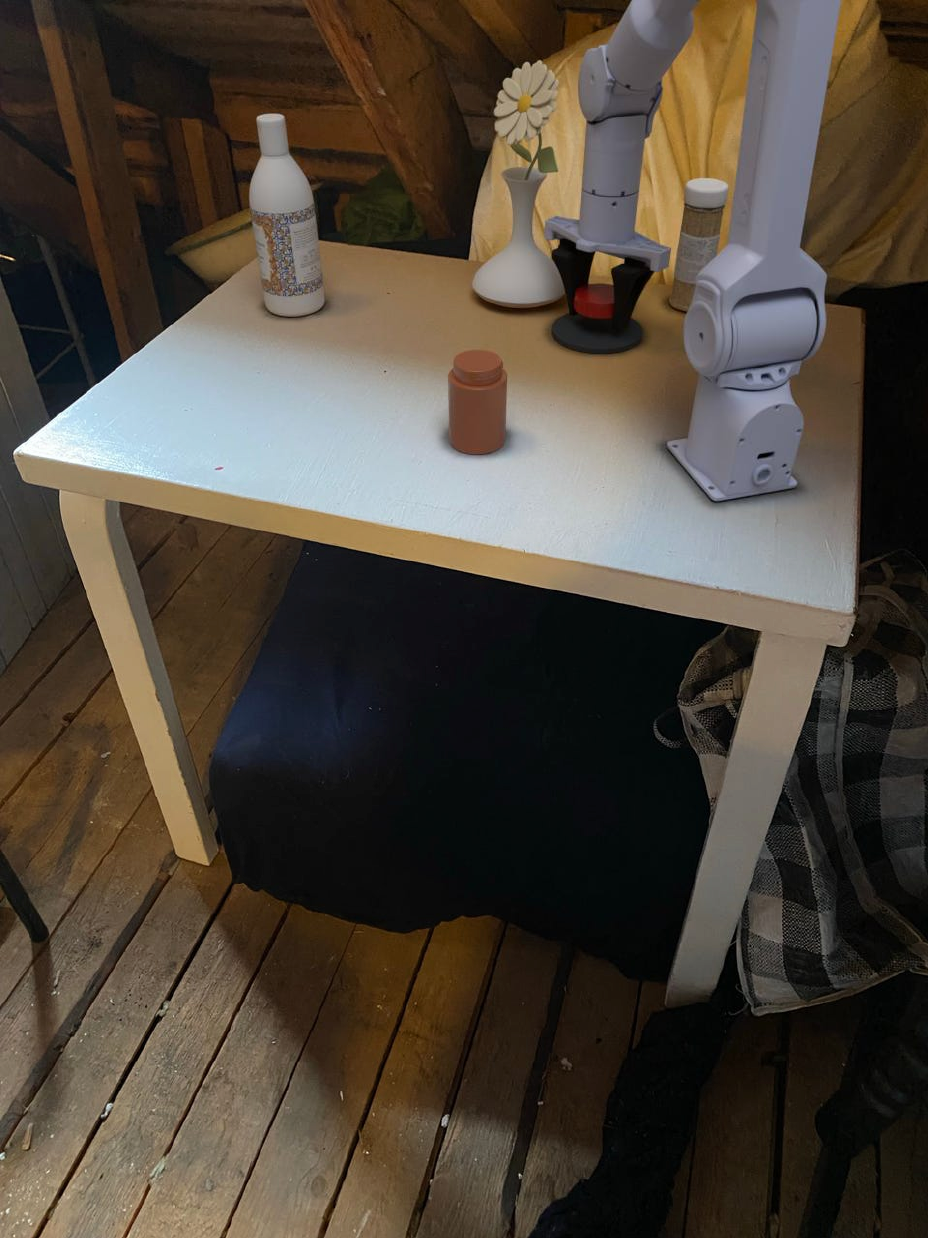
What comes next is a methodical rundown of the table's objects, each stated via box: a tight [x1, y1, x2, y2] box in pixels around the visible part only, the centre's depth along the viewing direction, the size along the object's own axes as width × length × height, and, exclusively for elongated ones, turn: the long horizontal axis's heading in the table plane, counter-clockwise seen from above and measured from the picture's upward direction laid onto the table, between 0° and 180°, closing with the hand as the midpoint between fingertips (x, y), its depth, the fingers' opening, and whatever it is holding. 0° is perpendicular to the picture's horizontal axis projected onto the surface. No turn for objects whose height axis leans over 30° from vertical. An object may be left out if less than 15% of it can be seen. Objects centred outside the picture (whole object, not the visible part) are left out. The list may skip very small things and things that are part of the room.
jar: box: [447, 349, 508, 456], centre depth 82 cm, size 5×5×8 cm
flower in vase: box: [471, 59, 566, 309], centre depth 100 cm, size 13×11×25 cm
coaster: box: [551, 312, 644, 355], centre depth 101 cm, size 10×10×1 cm
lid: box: [574, 282, 614, 319], centre depth 99 cm, size 6×6×2 cm
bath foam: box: [248, 113, 326, 318], centre depth 101 cm, size 7×7×20 cm
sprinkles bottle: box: [668, 177, 730, 313], centre depth 103 cm, size 5×5×14 cm
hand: (598, 319), depth 101 cm, fingers closed on lid, 5 cm apart
